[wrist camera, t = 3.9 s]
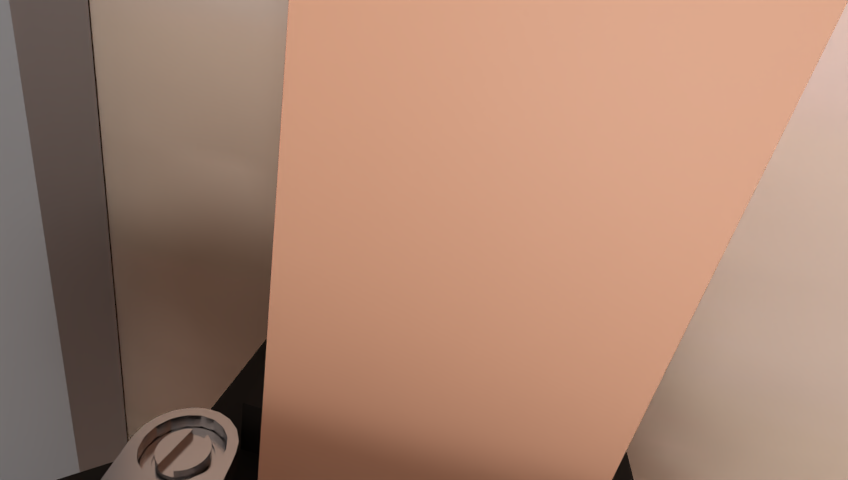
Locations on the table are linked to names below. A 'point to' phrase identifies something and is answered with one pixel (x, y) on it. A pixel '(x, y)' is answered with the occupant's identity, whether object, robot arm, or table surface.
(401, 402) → the slat
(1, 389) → the board
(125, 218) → the table surface
